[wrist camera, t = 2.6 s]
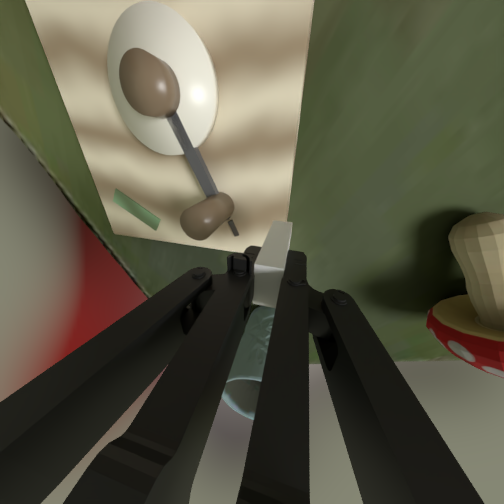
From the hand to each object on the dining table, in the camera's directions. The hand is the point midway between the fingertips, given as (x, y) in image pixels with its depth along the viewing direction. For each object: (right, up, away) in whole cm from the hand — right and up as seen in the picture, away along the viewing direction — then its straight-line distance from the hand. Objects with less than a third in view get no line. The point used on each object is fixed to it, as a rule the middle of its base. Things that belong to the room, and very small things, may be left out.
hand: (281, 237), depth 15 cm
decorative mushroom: (+22, -3, +5) cm, 22 cm away
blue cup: (+1, -13, +17) cm, 21 cm away
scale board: (-10, +11, +6) cm, 16 cm away
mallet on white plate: (-9, +10, +3) cm, 14 cm away
